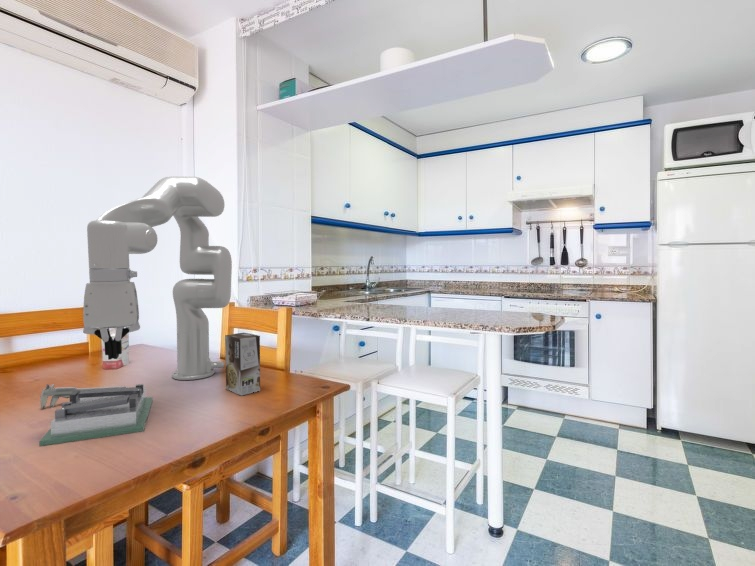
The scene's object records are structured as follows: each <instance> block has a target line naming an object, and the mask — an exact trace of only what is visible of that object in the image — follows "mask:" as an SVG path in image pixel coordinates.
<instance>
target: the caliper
mask: <svg viewBox="0 0 755 566" xmlns="http://www.w3.org/2000/svg"><path fill="white" fill-rule="evenodd" d="M113 388H127V386H125V385H124V386H123V385H121V386H120V385H119V386H105V387H104V386H102V387H101V386H99V387H84V388H83V387H79V388H78V387H76V386H72V387H71V386H67V387H65V386H62V387H55V384H54V383H52V384H51V385H50V384H48V383H47V384H46V386H45V388H43V389H42V391H41V394H40V408H41V409H42V410H45V409H46V405H47V401H48V398H49V397H51V399H50V402H49V408H51V407H52V408H54V407H55V405H56V404H57V402H58V400H59V399H60V398H64V399H70V394H71V393H72V392H73V391H75V390H80V392H81V391H82V390H95V389H113Z"/></svg>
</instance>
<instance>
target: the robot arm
mask: <svg viewBox="0 0 755 566" xmlns="http://www.w3.org/2000/svg"><path fill="white" fill-rule="evenodd" d="M225 206H226V205H225V199H224V197H223V195H222V193H221V192H220V191H219V190H218V189H217V188H216V187H215V186H214V185H212V184H211V183H210V182H208V181H207V180H205V179H203V178H201V177H197V176H165V177H163V178H161V179H159V180H158V181H157V182H156V183H154V185H153V186H152V187H151V188H150V189H149V190H148V191H147V192H146V193H144V195H142V197H140V198H136V199H134V200H131V201H128V202H126V203H123V204H121V205H118V206H115V207H113V208H111V209H108V210H107V211H104V212H103V214H101V215H100V216H99V217H98V218H97V219H96V220H91V221H89V222H88V224H87V227H86V232H87V234H86V235H87V237H86V238H87V253H88V254H87V255H88V270H89V271H88V275H89V282H88V283H86V284H85V288H84V296H83V310H82V312H83V313H82V318H83V319H82V321H83V328H82V329H83V330H82V331H83V333H84V334H86V335H91V336H93V335H94V336H97V338H99V339H100V340H101V342H102V343H103V342H105V355H108V360H110V359H117V358H118V357H119V354H122V344H121V339H122V338H123V337H124V336H125V335H126V334H127V333H129V334H130V333H132V332H136V331H139V330H140V329H141V324H140V322H139V321H140V320H139V319H140V310H139V300H138V294H137V293H138V291H137V288H136V285H135V281H131V279H133V278H137V277H138V271H135V270H132V269H131V268H130V255H143V254H148V253H150V252H152V251H153V250H155V248H156V246H157V245H158V234H157V231H156V230H155V229H154V228H155V227H157V226H161V225H164V224H166V223H168V222H169V221H170V220H171V219H172V217H173V218H174V220H175V221H176V224H177V225H178V227H179V228H178V229H179V232H180V233H179V235H180V240H179V241H180V243H179V245H180V246H179V268H180V270H181V271H182V273H184V274H187V275H194V276H195V275H199V276H200V275H201V276H203V275H204V276H205V275H206V276H210V275H211V276H213V278H186V279H181V280H179V281H177V282H176V283H175V284H174V285H173V288H172V298H173V303H174V309H175V316H176V352H177V353H176V355H177V356H176V357H177V361H176V362H177V364H176V365H177V370H176V371H173V372H172V374H171V376H172V379H174V380H178V381H194V380H201V379H205V378H208V377H211V376H213V375H215V369H216V368H217V369H222V368H223V369H224V368H225V361H219V360H217V361H212V360H211V358H210V323H209V322H210V321H209V319H208V317H207V315H206V313H205V312H204V311H203V309H223V308H226V307H227V306H228V305H229V304H230V301H231V296H232V273H233V271H232V268H233V267H232V266H233V265H232V263H233V262H232V254H231V253H230V251H229V249H228V248H226V247H225V246H222V245H221V246H220V245H210V241H209V240H210V239H209V238H210V237H209V236H210V232H209V230H208V228H207V226H206V224H205V223H204V222H203V220H201V218H202V217H203V218H204V217H205V218H207V217H208V218H213V217H214V218H215V217H219V216H220V215H222V214H223V212H224V211H225ZM200 217H201V218H200ZM112 328H116V334H115V338H114V340H113V339H112V337H111V335H110V330H111V329H112Z"/></svg>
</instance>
